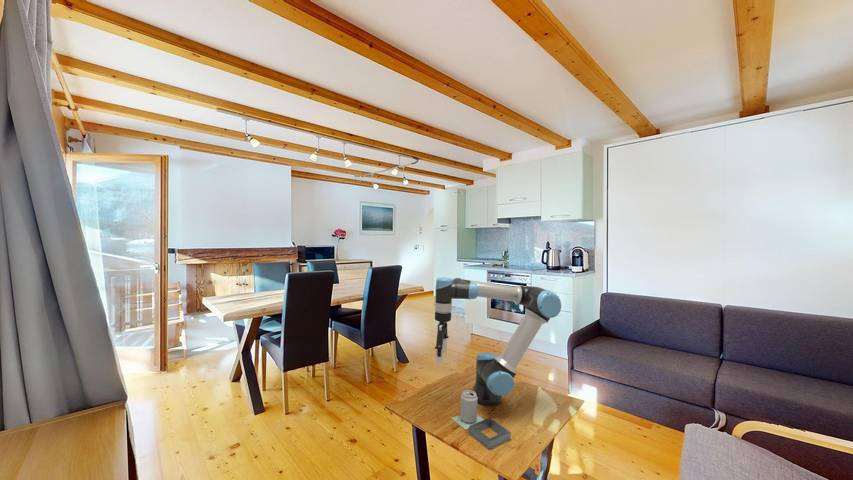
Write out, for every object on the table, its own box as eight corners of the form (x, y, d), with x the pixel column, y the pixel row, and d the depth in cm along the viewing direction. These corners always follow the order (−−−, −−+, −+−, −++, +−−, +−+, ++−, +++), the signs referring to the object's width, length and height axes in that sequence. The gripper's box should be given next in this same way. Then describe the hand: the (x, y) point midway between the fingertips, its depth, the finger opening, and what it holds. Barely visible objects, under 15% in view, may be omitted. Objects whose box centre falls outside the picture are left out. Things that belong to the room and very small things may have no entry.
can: (479, 423, 140) (480, 396, 140) (464, 425, 138) (464, 398, 138) (472, 413, 147) (473, 388, 147) (457, 415, 145) (458, 389, 145)
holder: (489, 424, 140) (489, 417, 140) (510, 439, 130) (510, 432, 130) (468, 433, 133) (469, 425, 133) (489, 449, 123) (489, 442, 123)
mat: (471, 411, 150) (471, 410, 150) (485, 421, 142) (485, 420, 142) (451, 419, 143) (451, 418, 143) (465, 430, 135) (465, 429, 135)
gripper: (439, 305, 158) (437, 347, 158) (430, 317, 133) (428, 367, 134) (454, 306, 156) (452, 349, 157) (447, 319, 132) (445, 369, 132)
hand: (441, 357), depth 145 cm, fingers open, 13 cm apart
